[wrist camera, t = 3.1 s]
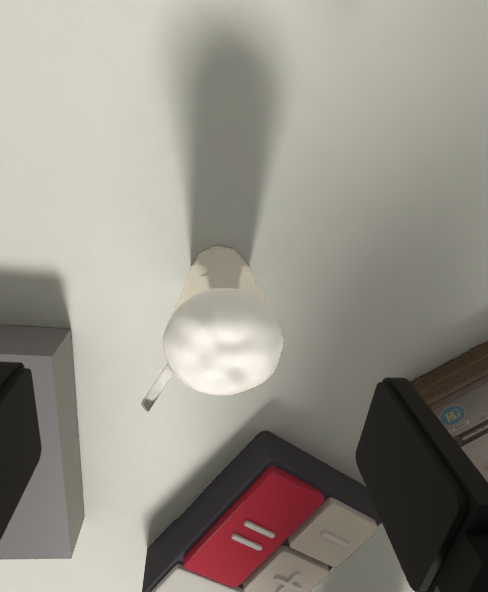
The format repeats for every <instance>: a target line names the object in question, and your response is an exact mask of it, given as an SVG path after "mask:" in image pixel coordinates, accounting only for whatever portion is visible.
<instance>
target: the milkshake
mask: <svg viewBox="0 0 488 592" xmlns="http://www.w3.org/2000/svg"><path fill="white" fill-rule="evenodd" d="M283 343H284V338H283V331H282V328H281V325H280V322H279V320H278V318H277V316H276V314H275V313H274V311H273V309H272V308H271V306H270V304H269V303H268V301H267V300H266V298H265V296H264V295H263V293H262V292H261V290H260V288H259V286H258V284H257V282H256V280H255V278H254V276H253V274H252V272H251V271H250V269H249V267H248V265H247V263H246V262H245V261H244V260H243V258H242V257H241V256H240V255H239V254H238V253H237V252H236V251H235V250H234V249H231V248H226V247H221V246H214V247H212V248H209V249H207V250H205V251H202V252H200V253H199V254H198V256H197V258H196V259H195V261H194V263H193V265H192V266H191V268H190V270H189V273H188V276H187V279H186V281H185V284H184V287H183V290H182V293H181V295H180V298H179V300H178V302H177V304H176V306H175V309H174V311H173V313H172V315H171V318H170V320H169V322H168V324H167V327H166V329H165V333H164V338H163V348H164V353H165V357H166V359H167V362H168V364H167V365H166V367H165V368H164V370H163V371H162V372H161V374H160V375H159V377H158V378H157V380H156V381H155V383H154V384H153V386H152V387H151V389H150V390H149V392H148V393H147V395H146V396H145V398H144V399H143V401H142V402H141V405H142V406H143V408H144V409H145V411H146V412H148V411H149V410H150V409H151V407H152V405H153V404H154V402H155V401H156V399H157V398H158V396H159V395H160V393H161V392H162V390H163V388H164V387H165V385H166V384H167V382H168V381H169V379H170V378H171V376H172V374H173V373H175V375H176V376H177V377H178V378H179V379H180V380H181V381H182V382H183V383H184V384H186V385H187V386H188V387H190V388H192V389H194V390H196V391H199V392H202V393H206V394H211V395H233V394H237V393H240V392H243V391H246V390H249V389H252V388H254V387H256V386H258V385H260V384H262V383H263V382H265V381H266V380H267V379H268V378H269V377H270V376H271V375H272V374H273V373H274V371H275V369H276V367H277V365H278V363H279V359H280V356H281V353H282V349H283Z"/></svg>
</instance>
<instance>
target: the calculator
mask: <svg viewBox="0 0 488 592" xmlns="http://www.w3.org/2000/svg"><path fill="white" fill-rule="evenodd" d="M381 522H382V521H381V519H380V516H379V514H378V512H377V510H376V507H375V505H374V503H373V500H372V498H371V496H370V493H369V491H368V489H367V487H365V486H364V485H362V484H360V483H358V482H357V481H355V480H353V479H351V478H350V477H348V476H346V475H344V474H343V473H341V472H339V471H337V470H336V469H334V468H332V467H330V466H328V465H327V464H325V463H323V462H321V461H320V460H318V459H316V458H314V457H313V456H311V455H309V454H307V453H306V452H304V451H302V450H300V449H299V448H297V447H295V446H293V445H292V444H290V443H288V442H286V441H284V440H283V439H281V438H279V437H277V436H276V435H274V434H272V433H270V432H268V431H262V432H260V433H259V434H258V435H257V436H256V437H255V438H254V439H253V440H252V441H251V442H250V443H249V444H248V445H247V446H246V447H245V448H244V449H243V450H242V452H241V453H240V454H239V455H238V456H237V457H236V458H235V459H234V460H233V461H232V462H231V463H230V464H229V465H228V466H227V467H226V468H225V469H224V470H223V471H222V472H221V473H220V474H219V475H218V476H217V478H216V479H215V480H214V481H213V482H212V483H211V484H210V485H209V486H208V487H207V489H206V490H205V491H204V492H203V493H202V494H201V495H200V496H199V497H198V498H197V500H196V501H195V502H194V503H193V504H192V505H191V506H190V507H189V508H188V510H187V511H186V512H185V513H184V514H183V515H182V516H181V517H180V518H179V519H177V520H175V521H174V522H173V523H172V524H171V525H170V526H169V527H168V528H167V529H166V530H165V531H164V532H163V533H162V534H161V535H160V536H159V537H158V538H157V539H156V540H155V541H154V542H153V543H152V544H151V545H150V547H149V548H148V549H147V556H146V564H145V572H144V580H143V588H142V592H311V591H312V590H313V589H314V588H315V587H316V586H317V585H318V584H319V583H321V582H322V581H323V580H324V579H325V578H326V577H327V576H328V575H329V573H330V572H329V570H330V569H332V568H333V567H338V566H339V565H340V564H341V563H342V562H344V561H345V560H346V559H347V558H348V557H349V556H350V555H351V554H352V553H353V552H354V551H356V550H357V549H358V548H359V547H360V546H361V545H362V544H363V543H364V542H365V541H366V540H368V539H369V538H370V537H371V536H372V535H373V534H374V533H375V532H376V531H377V530H378V525H379V524H380V523H381Z"/></svg>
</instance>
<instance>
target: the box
mask: <svg viewBox="0 0 488 592" xmlns="http://www.w3.org/2000/svg"><path fill="white" fill-rule="evenodd" d="M411 384H412V385H413V387H414V388H415V389H416V390H417V392H418V393H419V394H420V396H421V397H422V398H423V399H424V401H425V402H426V403H427V405H428V406H429V407H430V408H431V410H432V411H433V412H434V414H435V415H436V416H437V418H438V419H439V420H440V421H441V423H442V424H443V425H444V427H445V428H446V429H447V430H448V432H449V433H450V434H451V436H452V437H453V438H454V439H455V441H456V442H457V443H458V445H459V446H460V447H461V448H462V450H463V451H464V452H465V454H466V455H467V456H468V458H469V459H470V460H471V461H472V463H473V464H474V465H475V467H476V468H477V469H478V470H479V472H480V473H481V474H482V476H483V477H484V478H485V479H486V481H487V482H488V342H485V343H484V344H482V345H480V346H478V347H476V348H473V349H471V351H470V352H468V353H466V354H463V355H462V356H460V357H458V358H456V359H455V360H452V361H450V362H448V363H447V364H446V365H442V367H440V368H438V369H436V370H435V371H434V372H432V373H429V374H428V375H427V376H426V375H425V376H424V377H421V378H419V380H416V381H414V382H413V383H411Z"/></svg>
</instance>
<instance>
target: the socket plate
mask: <svg viewBox="0 0 488 592" xmlns="http://www.w3.org/2000/svg"><path fill="white" fill-rule="evenodd" d="M0 361H2V362H21V363H23V365H24V367H25V368H29V369H30V370H31V373H32V379H33V387H34V394H35V402H36V409H37V416H38V424H39V431H40V439H41V447H42V450H41V456H40V460H39V462H38V464H37V466H36V468H35V470H34V473H33V475H32V477H31V479H30V481H29V483H28V485H27V487H26V489H25V491H24V493H23V495H22V497H21V499H20V501H19V503H18V505H17V507H16V509H15V512H14V514H13V516H12V518H11V520H10V522H9V524H8V526H7V528H6V530H5V532H4V534H3V536H2V538H1V540H0V559H71V558H72V554H73V551H74V548H75V545H76V542H77V539H78V536H79V533H80V530H81V526H82V523H83V520H84V506H83V492H82V477H81V463H80V449H79V435H78V421H77V406H76V392H75V378H74V364H73V350H72V335H71V329H64V328H47V327H29V326H12V325H0Z"/></svg>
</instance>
